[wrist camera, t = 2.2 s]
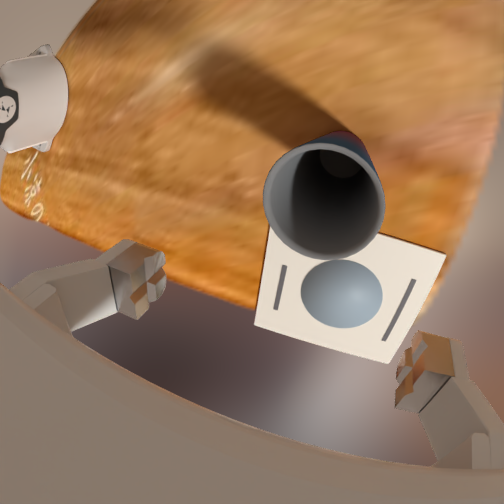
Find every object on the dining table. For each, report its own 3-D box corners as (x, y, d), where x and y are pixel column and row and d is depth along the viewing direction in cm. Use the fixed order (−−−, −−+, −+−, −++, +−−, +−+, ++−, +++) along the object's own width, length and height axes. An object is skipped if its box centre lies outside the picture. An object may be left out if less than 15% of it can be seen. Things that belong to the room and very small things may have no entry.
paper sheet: (254, 323, 43) (253, 325, 43) (274, 204, 34) (273, 205, 33) (388, 362, 38) (388, 364, 38) (445, 254, 29) (446, 255, 29)
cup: (366, 115, 26) (370, 130, 14) (382, 182, 28) (392, 253, 16) (300, 130, 29) (247, 158, 17) (318, 193, 31) (281, 266, 19)
